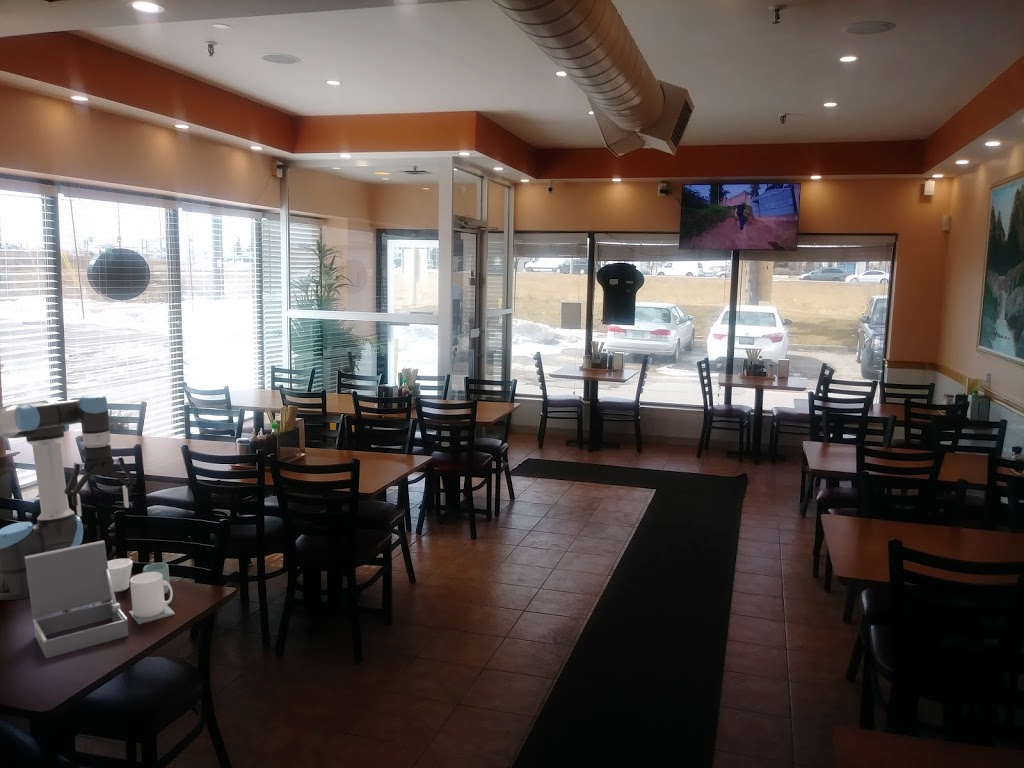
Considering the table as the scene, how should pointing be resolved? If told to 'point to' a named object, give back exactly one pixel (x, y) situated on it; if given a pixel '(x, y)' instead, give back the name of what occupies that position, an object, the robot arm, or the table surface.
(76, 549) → the lid
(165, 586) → the cup
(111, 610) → the case
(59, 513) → the robot arm
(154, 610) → the mug
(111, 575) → the cup
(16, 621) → the table surface
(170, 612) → the pad
